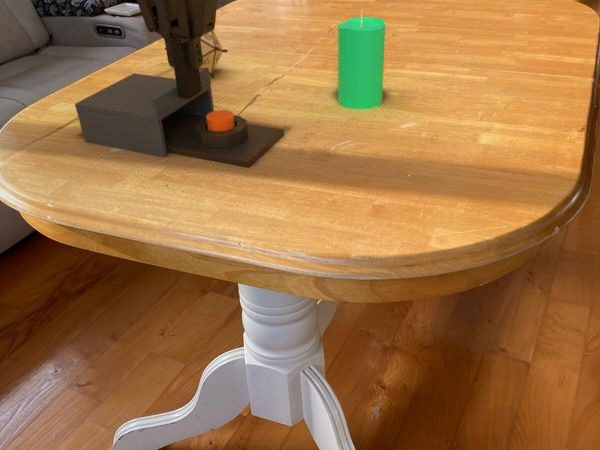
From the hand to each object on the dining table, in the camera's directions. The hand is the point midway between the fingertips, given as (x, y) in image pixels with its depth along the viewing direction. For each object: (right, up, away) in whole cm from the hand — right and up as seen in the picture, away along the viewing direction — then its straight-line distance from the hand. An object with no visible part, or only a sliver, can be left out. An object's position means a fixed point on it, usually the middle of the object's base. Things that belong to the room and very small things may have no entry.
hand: (190, 94), depth 68 cm
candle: (+21, +1, +11) cm, 24 cm away
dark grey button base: (+2, -5, +3) cm, 6 cm away
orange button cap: (+4, -4, +1) cm, 5 cm away
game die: (-3, +8, +23) cm, 24 cm away
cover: (-6, -4, +6) cm, 9 cm away
